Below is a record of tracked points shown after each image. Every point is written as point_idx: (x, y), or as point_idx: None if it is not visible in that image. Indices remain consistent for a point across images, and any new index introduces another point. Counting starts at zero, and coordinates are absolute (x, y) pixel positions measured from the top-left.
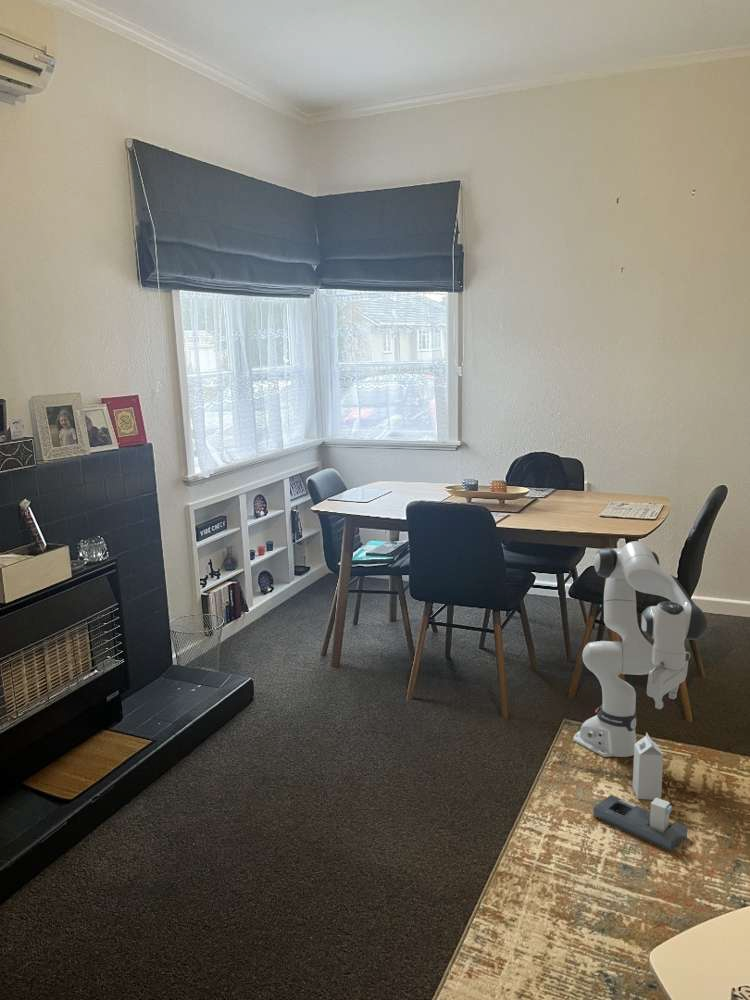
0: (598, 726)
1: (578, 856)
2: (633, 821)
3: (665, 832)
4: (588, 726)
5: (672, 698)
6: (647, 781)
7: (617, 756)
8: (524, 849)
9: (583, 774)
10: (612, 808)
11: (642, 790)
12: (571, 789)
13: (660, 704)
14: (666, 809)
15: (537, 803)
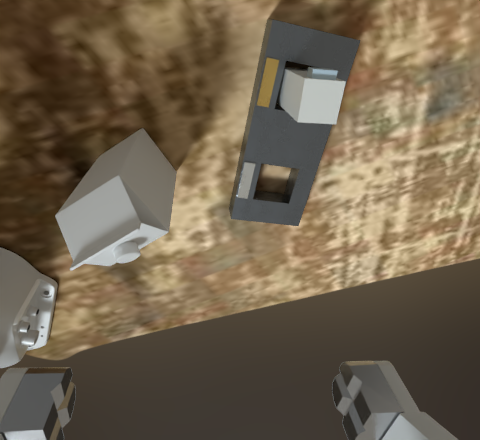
0: (9, 347)
1: (428, 188)
2: (313, 145)
3: (325, 66)
4: (16, 356)
5: (70, 379)
6: (160, 174)
7: (31, 266)
8: (434, 254)
9: (157, 282)
10: (269, 198)
11: (169, 173)
12: (224, 275)
13: (412, 407)
14: (335, 77)
15: (301, 293)
